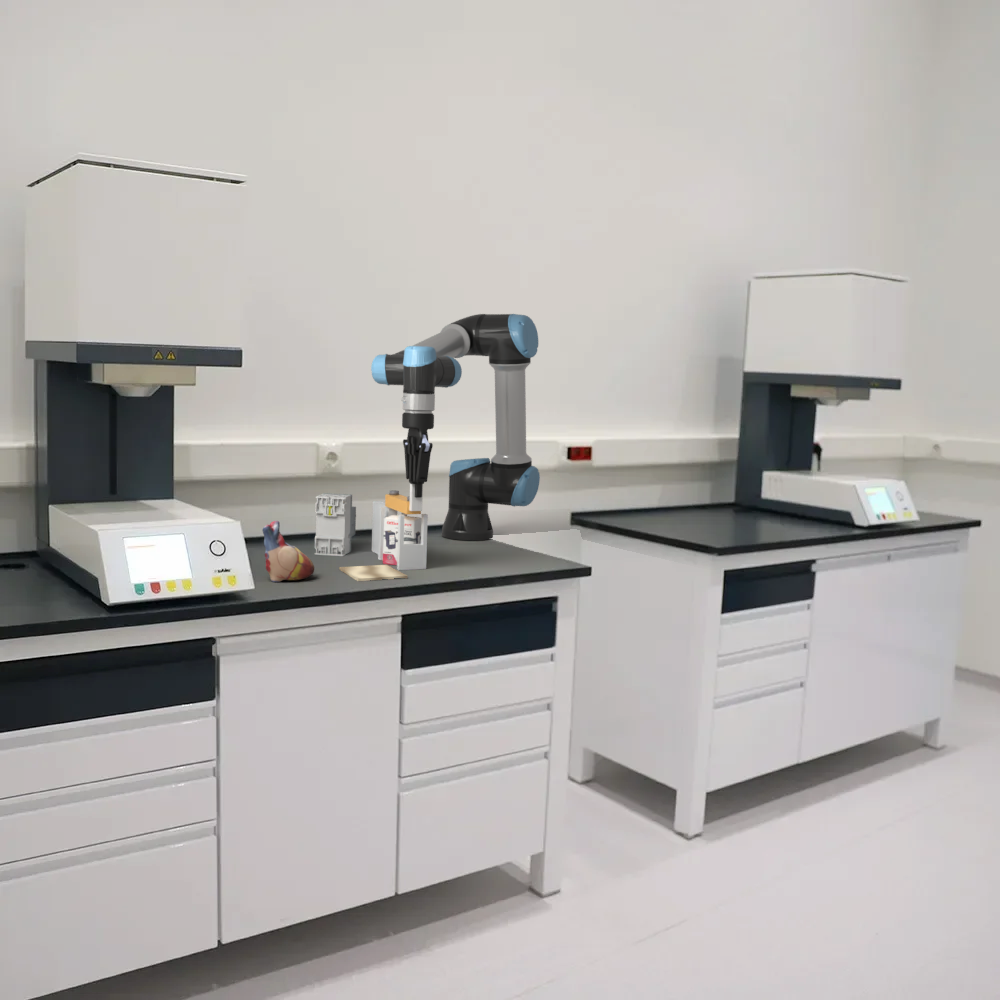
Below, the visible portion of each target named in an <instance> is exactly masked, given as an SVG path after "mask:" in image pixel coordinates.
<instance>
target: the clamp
mask: <svg viewBox="0 0 1000 1000" xmlns="http://www.w3.org/2000/svg"><path fill="white" fill-rule="evenodd" d="M400 513H401V514H398V511H397V510H394V509H391V508H389V507H386V506H385V501H382V500H376V501H375V500H373V501H372V519H371V521H372V522H371V523H372V525H371V526H372V527H371V552H373V553H374V554H376V555H377V558H378V559H377V560H378V561H383V536H384V518H386V517H389V516H391V515H397V516H398V546H397V565H396V570H398V571H413V570H426V569H427V557H428V556H427V553H428V552H427V549H428V547H427V546H428V544H427V543H428V520H429V519H428V518H429V517H428V514H426V513H421V517H420V518H421V544H404V516H408V514H405V513H402V512H400Z"/></svg>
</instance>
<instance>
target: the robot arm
mask: <svg viewBox="0 0 1000 1000" xmlns="http://www.w3.org/2000/svg"><path fill="white" fill-rule="evenodd" d="M538 348H539V334H538V331H537V327H536V324H535V323H534V321H533V319H532V318H530V316H528V315H525V314H517V313H497V314H495V313H494V314H493V313H492V314H491V313H489V314H488V313H479V314H473V315H469V316H466V317H463V318H460V319H457V320H455V321H452V322H451V323H449V324H447V325H445V326H444V327H443V328H442V329H441V330H440V332H439V333H436V334H434V335H432V336H430V337H428V338H425V339H423V340H421V341H419V342H417V343H414V344H413V345H409V346H406V347H405V348H404V349H402V350H401V351H398V352H396V353H393V354H388V353H385V354H378V355H375V357H374V358H373V360H372V363H371V366H370V367H371V369H370V371H371V376H372V379H373V381H374V382H375V383H377V384H379V385H386V386H403V388H402V389H403V390H402V397H401V398H400V400H401V402H402V410H403V411H404V412H403V413H402V417H401V419H402V420H401V426H402V428H403V429H407V437H406V438H405V439H403V440H402V444H403V450H404V463H405V465H404V466H405V478H406V480H408V483H409V496H410V504H409V510H410V511H421V512H423V495H424V494H423V490H424V489H423V488H424V484H425V483H427V482H428V477H429V476H428V475H429V471H430V470H429V468H430V460H431V453H432V450H433V446H434V445H433V443H432V442H429V433H428V430H432V429H434V427H435V414H434V413H433V411H435V409H436V408H435V402H436V399H435V398H436V393H435V391H436V388H446V389H447V388H451V387H454V386H456V385H457V384H458V383H459V382H460V380H461V378H462V372H463V371H462V367H461V364H460V362H459V361H458V360H457V359H460V358H463V357H465V356H477V357H478V356H480V357H488V364H489V366H490V367H492V368H493V370H494V405H495V407H494V408H495V450H496V451H495V455H494V456H493V457H492V458H491V459H490V458H489V457H481V458H479V457H478V458H468V459H457V460H453V461H452V462H451V463H450V467H449V475H448V477H449V478H448V479H449V481H448V511H447V514H446V516H445V519H444V522H443V524H442V528H441V536H442V537H443V538H445V539H451V540H457V541H483V540H484V541H485V540H491V539H493V538H494V528H493V525H492V522H491V518H490V513H489V504H493V505H503V506H510V507H511V506H512V507H514V508H515V507H527V506H529V505H530V504H532V503H533V501H534V499H535V497H536V496H537V493H538V491H539V485H540V481H541V475H540V472H539V468H538V467H536V466H534V465H532V462H533V459H532V457H531V456H529V455H528V453H527V416H526V415H527V412H526V410H527V408H526V405H527V402H526V401H527V399H526V398H527V397H526V396H527V395H526V369H527V368H528V367H529V365H531V364H532V363H531V361H532V360H531V358H534V357H535V356H536V355H537V353H538Z"/></svg>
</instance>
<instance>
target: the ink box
mask: <svg viewBox="0 0 1000 1000" xmlns="http://www.w3.org/2000/svg"><path fill="white" fill-rule="evenodd" d="M404 544H421V517H419V516H409V515H407V516H404ZM397 546H398V514H397V515H391V516H389V517H386V518H384V536H383V560H382V565H388V566H397Z"/></svg>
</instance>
